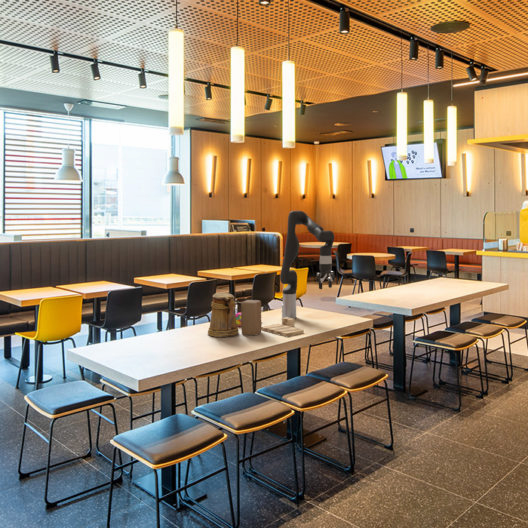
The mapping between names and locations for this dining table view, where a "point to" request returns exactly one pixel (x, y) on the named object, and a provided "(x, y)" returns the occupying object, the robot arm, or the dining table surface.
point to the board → (282, 330)
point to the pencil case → (238, 319)
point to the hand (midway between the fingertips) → (325, 288)
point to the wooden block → (251, 317)
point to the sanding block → (288, 321)
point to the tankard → (223, 316)
